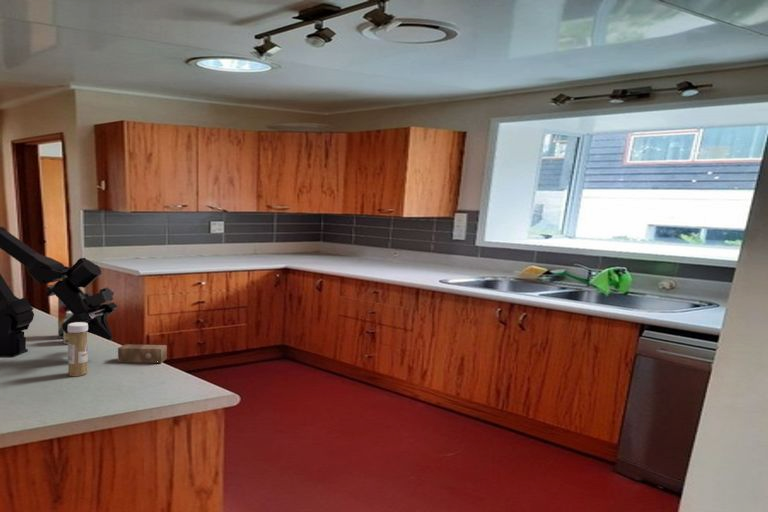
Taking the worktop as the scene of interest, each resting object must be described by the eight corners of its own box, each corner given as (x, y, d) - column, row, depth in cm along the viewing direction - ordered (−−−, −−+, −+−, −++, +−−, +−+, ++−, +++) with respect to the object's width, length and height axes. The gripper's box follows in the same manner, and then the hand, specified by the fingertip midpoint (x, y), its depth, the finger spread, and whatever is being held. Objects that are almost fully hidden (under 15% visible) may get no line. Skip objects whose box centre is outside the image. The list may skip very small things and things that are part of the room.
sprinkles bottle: (88, 375, 130) (88, 324, 129) (67, 377, 127) (67, 326, 126) (87, 370, 134) (87, 321, 132) (67, 372, 131) (67, 322, 130)
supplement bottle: (86, 342, 158) (87, 312, 157) (68, 345, 154) (68, 314, 153) (78, 339, 161) (78, 309, 160) (60, 342, 157) (59, 311, 156)
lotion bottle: (57, 339, 159) (57, 277, 158) (59, 335, 164) (59, 275, 163) (78, 338, 162) (78, 277, 160) (79, 334, 167) (79, 275, 165)
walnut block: (117, 348, 141) (160, 349, 142) (124, 344, 145) (166, 345, 146) (117, 362, 141) (160, 363, 142) (124, 358, 146) (166, 359, 146)
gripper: (73, 284, 132) (114, 328, 133) (111, 275, 151) (147, 314, 152) (43, 311, 133) (84, 355, 134) (85, 299, 151) (120, 337, 152)
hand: (111, 338), depth 143 cm, fingers closed
